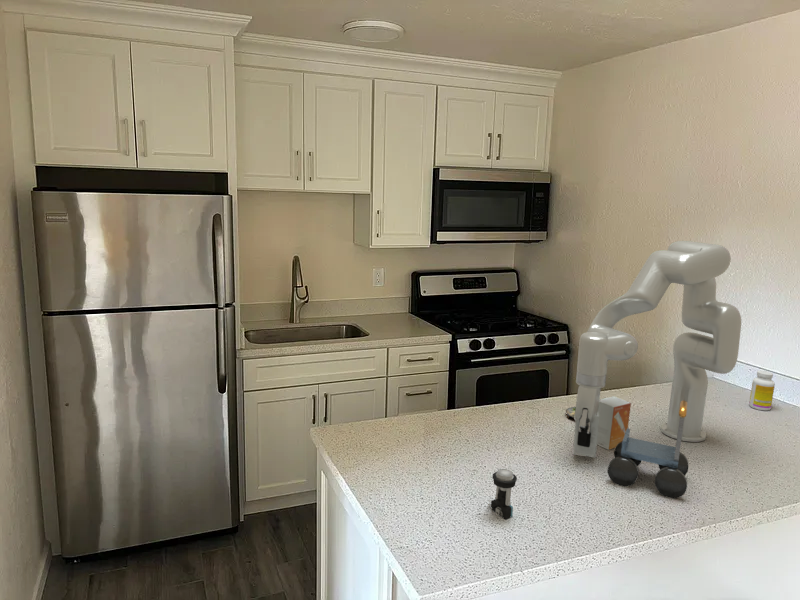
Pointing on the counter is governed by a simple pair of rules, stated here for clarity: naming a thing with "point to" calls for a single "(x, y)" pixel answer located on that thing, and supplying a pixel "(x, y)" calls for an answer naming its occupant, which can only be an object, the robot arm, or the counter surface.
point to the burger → (570, 412)
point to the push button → (503, 493)
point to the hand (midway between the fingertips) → (585, 441)
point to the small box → (612, 421)
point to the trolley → (652, 461)
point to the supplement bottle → (762, 391)
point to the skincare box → (592, 448)
